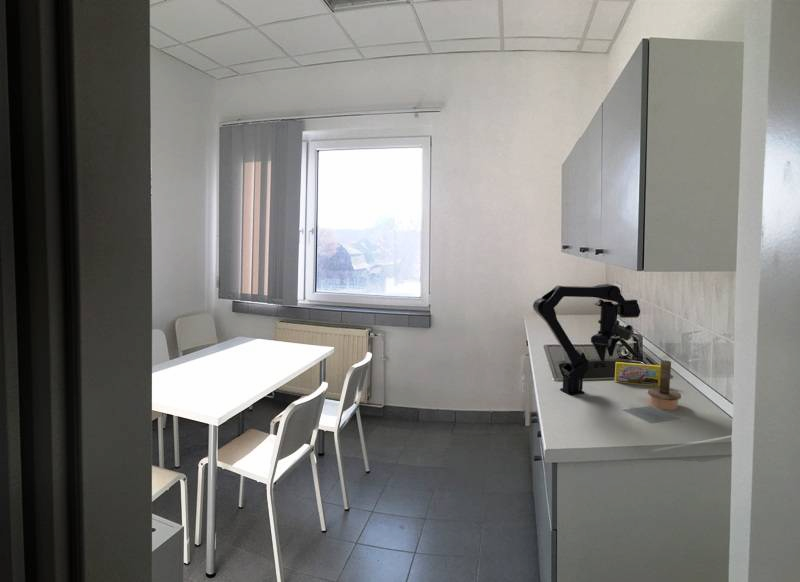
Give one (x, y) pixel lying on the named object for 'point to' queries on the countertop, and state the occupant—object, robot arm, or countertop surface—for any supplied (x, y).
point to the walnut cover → (664, 384)
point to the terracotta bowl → (664, 403)
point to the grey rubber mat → (651, 414)
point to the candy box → (637, 373)
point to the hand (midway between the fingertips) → (606, 358)
